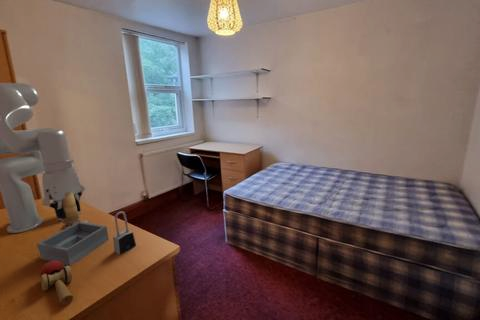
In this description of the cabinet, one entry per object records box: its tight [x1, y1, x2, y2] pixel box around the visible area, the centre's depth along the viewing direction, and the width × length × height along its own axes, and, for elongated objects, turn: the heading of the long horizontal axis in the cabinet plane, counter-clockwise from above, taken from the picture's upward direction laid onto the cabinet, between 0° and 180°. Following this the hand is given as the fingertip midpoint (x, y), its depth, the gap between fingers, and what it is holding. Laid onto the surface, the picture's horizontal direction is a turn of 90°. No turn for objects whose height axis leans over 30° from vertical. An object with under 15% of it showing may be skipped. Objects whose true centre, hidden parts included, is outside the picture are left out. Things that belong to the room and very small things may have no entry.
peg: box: [61, 191, 80, 225], centre depth 85 cm, size 5×5×11 cm
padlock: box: [112, 211, 137, 256], centre depth 87 cm, size 7×4×15 cm, turn 145°
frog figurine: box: [61, 219, 90, 231], centre depth 105 cm, size 12×12×4 cm
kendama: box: [39, 261, 74, 307], centre depth 70 cm, size 8×6×18 cm
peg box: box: [36, 221, 109, 267], centre depth 88 cm, size 14×16×6 cm
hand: (69, 214), depth 85 cm, fingers closed on peg, 5 cm apart
